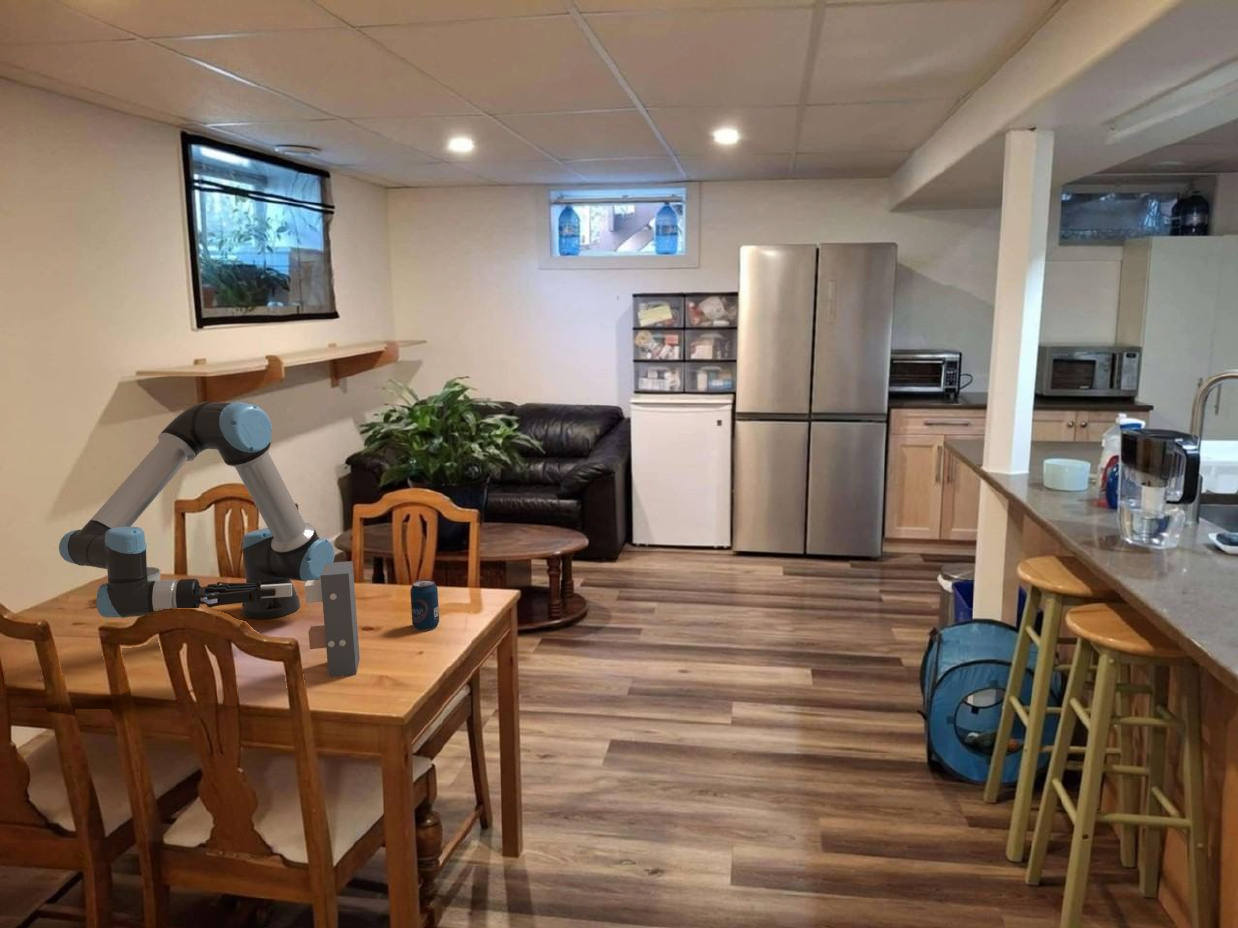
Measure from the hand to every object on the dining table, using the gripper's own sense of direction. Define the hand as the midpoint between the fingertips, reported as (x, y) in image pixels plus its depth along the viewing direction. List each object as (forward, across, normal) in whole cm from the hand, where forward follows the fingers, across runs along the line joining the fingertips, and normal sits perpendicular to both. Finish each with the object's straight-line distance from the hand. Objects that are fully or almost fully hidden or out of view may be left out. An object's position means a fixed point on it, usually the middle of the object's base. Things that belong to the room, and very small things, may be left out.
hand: (291, 589), depth 200 cm
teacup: (-50, -71, -18) cm, 89 cm away
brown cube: (+6, 0, -13) cm, 15 cm away
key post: (+11, 0, -19) cm, 22 cm away
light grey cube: (+5, +1, -2) cm, 6 cm away
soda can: (+30, -22, -18) cm, 41 cm away
